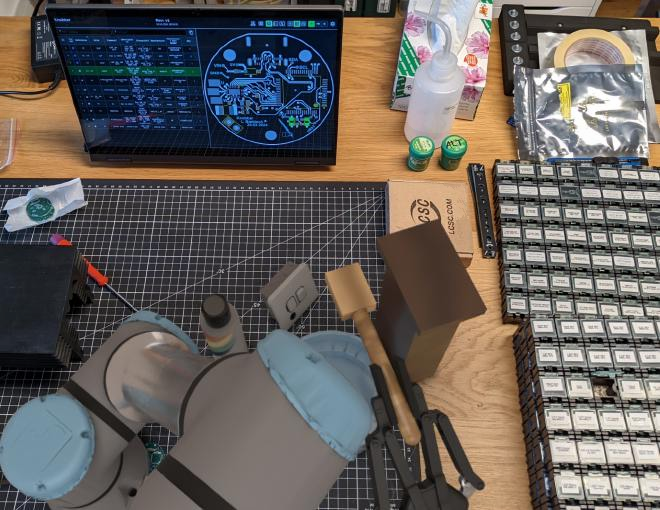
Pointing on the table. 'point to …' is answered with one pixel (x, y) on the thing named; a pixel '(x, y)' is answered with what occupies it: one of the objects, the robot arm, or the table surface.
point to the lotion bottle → (221, 326)
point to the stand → (422, 297)
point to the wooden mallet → (370, 337)
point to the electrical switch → (289, 293)
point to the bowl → (347, 362)
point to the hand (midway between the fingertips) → (386, 362)
